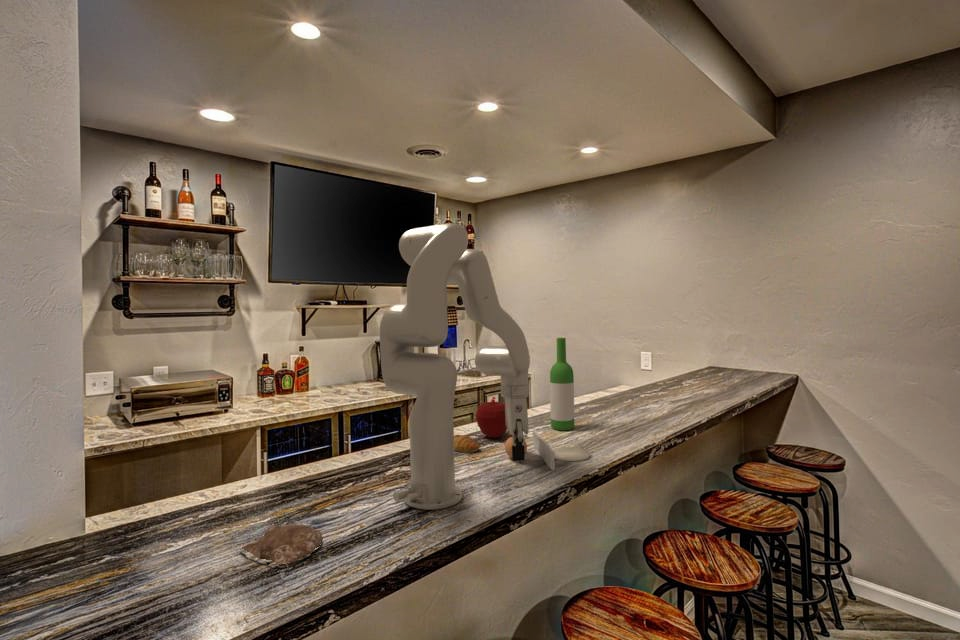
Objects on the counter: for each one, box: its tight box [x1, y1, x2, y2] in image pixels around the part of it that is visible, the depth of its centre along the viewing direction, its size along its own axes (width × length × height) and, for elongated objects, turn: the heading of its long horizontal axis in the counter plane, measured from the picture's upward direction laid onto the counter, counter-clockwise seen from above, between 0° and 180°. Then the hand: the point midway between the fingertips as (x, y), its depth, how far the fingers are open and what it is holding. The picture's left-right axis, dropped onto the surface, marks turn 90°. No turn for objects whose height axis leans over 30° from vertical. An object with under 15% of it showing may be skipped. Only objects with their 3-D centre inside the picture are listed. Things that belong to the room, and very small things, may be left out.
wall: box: [532, 429, 556, 471], centre depth 135 cm, size 22×1×4 cm, turn 6°
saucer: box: [551, 446, 591, 463], centre depth 136 cm, size 11×11×1 cm
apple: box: [475, 400, 508, 439], centre depth 155 cm, size 11×11×12 cm
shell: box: [241, 523, 324, 564], centre depth 88 cm, size 12×13×4 cm
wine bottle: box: [549, 337, 575, 431], centre depth 164 cm, size 8×8×30 cm
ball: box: [504, 436, 528, 459], centre depth 134 cm, size 6×6×6 cm
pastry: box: [454, 434, 480, 454], centre depth 144 cm, size 9×7×4 cm
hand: (516, 455), depth 134 cm, fingers open, 6 cm apart
